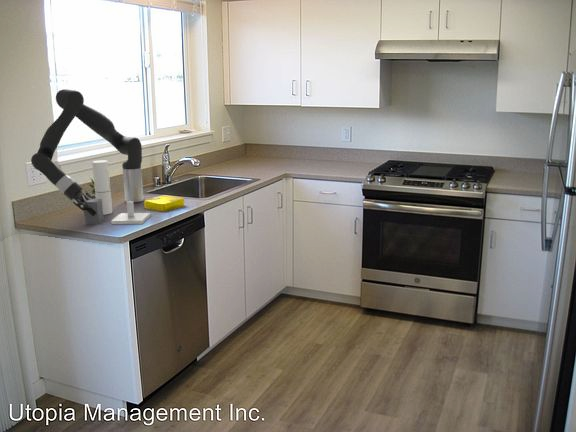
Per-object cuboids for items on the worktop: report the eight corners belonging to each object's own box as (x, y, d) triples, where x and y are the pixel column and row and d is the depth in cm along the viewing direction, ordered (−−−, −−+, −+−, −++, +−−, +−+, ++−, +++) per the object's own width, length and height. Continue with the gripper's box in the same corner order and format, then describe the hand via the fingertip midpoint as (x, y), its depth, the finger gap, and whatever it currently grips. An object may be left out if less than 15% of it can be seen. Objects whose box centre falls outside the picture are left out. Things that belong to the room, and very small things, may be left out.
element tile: (164, 212, 288) (163, 203, 287) (143, 208, 296) (142, 199, 295) (186, 206, 300) (185, 197, 299) (165, 202, 308) (164, 193, 307)
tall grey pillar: (90, 220, 274) (88, 198, 272) (103, 220, 274) (101, 198, 272) (85, 223, 268) (83, 202, 266) (99, 223, 268) (96, 201, 266)
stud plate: (120, 216, 280) (119, 198, 278) (150, 216, 280) (149, 198, 278) (111, 224, 267) (109, 205, 265) (142, 223, 266) (140, 205, 264)
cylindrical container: (114, 210, 291) (109, 160, 285) (110, 214, 284) (105, 162, 278) (99, 211, 291) (94, 160, 285) (95, 214, 284) (90, 162, 278)
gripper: (67, 184, 260) (97, 210, 262) (80, 178, 274) (107, 203, 276) (57, 196, 261) (86, 222, 264) (69, 189, 275) (97, 214, 278)
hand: (97, 212), depth 270 cm, fingers closed on tall grey pillar, 6 cm apart
